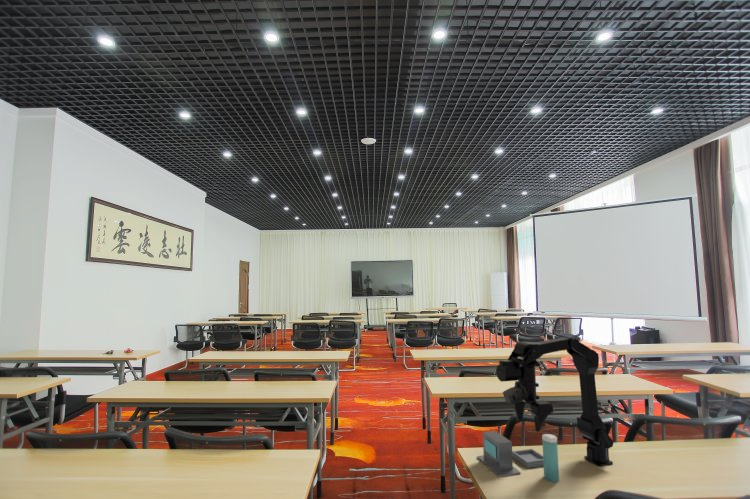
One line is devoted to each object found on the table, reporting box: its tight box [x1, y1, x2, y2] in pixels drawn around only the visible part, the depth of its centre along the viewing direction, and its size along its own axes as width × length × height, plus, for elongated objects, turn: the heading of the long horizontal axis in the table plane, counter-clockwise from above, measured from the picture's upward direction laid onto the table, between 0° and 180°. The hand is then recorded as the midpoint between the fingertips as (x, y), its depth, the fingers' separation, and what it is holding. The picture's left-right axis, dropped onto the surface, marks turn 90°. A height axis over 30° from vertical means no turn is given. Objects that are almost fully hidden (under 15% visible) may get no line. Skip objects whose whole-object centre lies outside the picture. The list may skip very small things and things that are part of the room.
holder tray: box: [512, 448, 544, 469], centre depth 131 cm, size 9×9×2 cm
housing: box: [476, 430, 521, 478], centre depth 129 cm, size 8×14×10 cm, turn 15°
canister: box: [541, 433, 560, 483], centre depth 120 cm, size 4×4×13 cm
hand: (528, 426), depth 126 cm, fingers open, 9 cm apart
